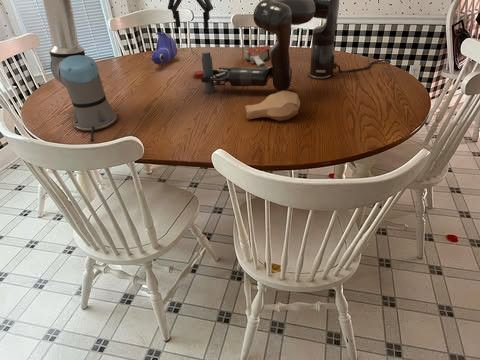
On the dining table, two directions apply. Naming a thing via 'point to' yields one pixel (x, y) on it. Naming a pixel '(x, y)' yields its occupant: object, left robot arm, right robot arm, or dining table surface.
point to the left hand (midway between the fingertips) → (192, 27)
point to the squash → (275, 106)
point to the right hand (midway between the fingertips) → (204, 75)
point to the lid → (198, 74)
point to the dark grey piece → (207, 70)
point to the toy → (164, 49)
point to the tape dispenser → (257, 55)
